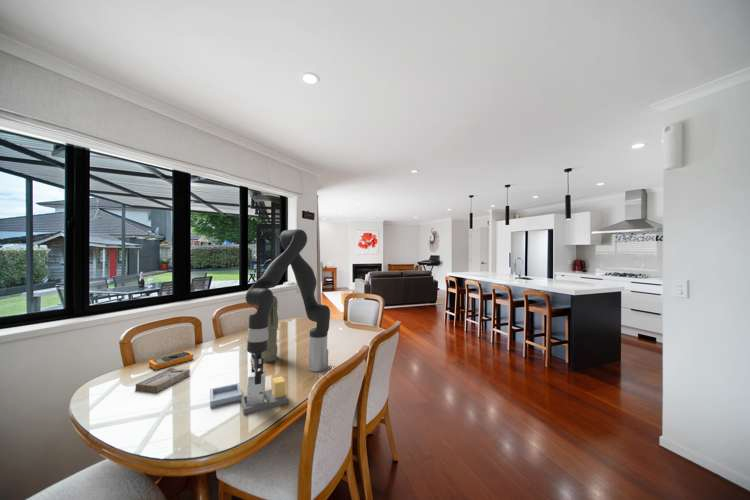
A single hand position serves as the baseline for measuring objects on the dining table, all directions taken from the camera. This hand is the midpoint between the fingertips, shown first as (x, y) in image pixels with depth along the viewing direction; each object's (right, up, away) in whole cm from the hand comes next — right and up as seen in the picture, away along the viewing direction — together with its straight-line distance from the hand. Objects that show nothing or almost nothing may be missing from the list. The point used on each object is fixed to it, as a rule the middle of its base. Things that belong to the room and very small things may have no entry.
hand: (256, 379), depth 110 cm
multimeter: (-60, -9, +36) cm, 70 cm away
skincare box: (0, -10, 0) cm, 10 cm away
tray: (-14, -10, +4) cm, 18 cm away
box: (-48, -9, +15) cm, 51 cm away
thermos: (-12, -10, +45) cm, 47 cm away
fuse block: (+2, -10, +1) cm, 10 cm away
